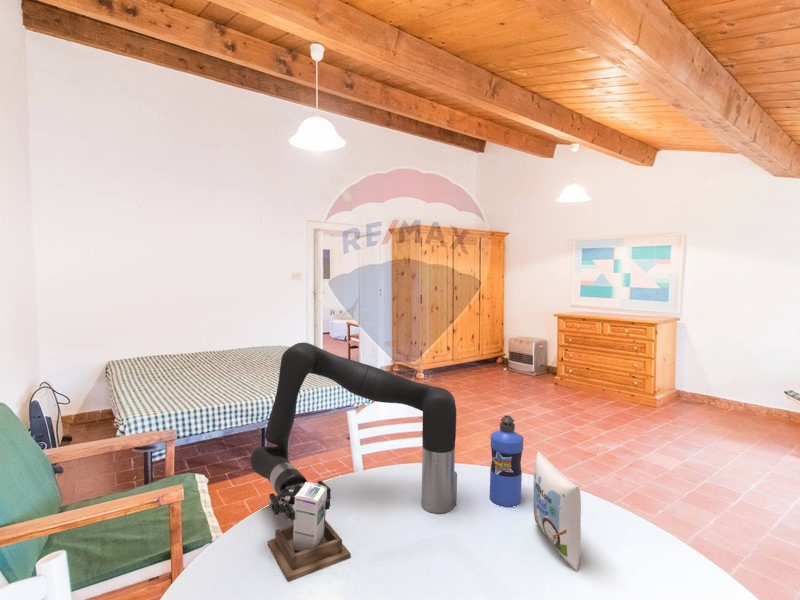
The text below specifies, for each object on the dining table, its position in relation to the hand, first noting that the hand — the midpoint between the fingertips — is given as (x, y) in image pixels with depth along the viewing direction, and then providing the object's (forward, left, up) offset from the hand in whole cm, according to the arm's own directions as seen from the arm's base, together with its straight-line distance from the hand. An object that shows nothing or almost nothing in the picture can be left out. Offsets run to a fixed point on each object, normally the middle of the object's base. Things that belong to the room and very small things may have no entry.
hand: (311, 510), depth 103 cm
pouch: (-52, +28, -11) cm, 60 cm away
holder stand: (0, -2, -11) cm, 11 cm away
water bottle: (-58, +6, -11) cm, 59 cm away
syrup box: (0, -2, -9) cm, 10 cm away
